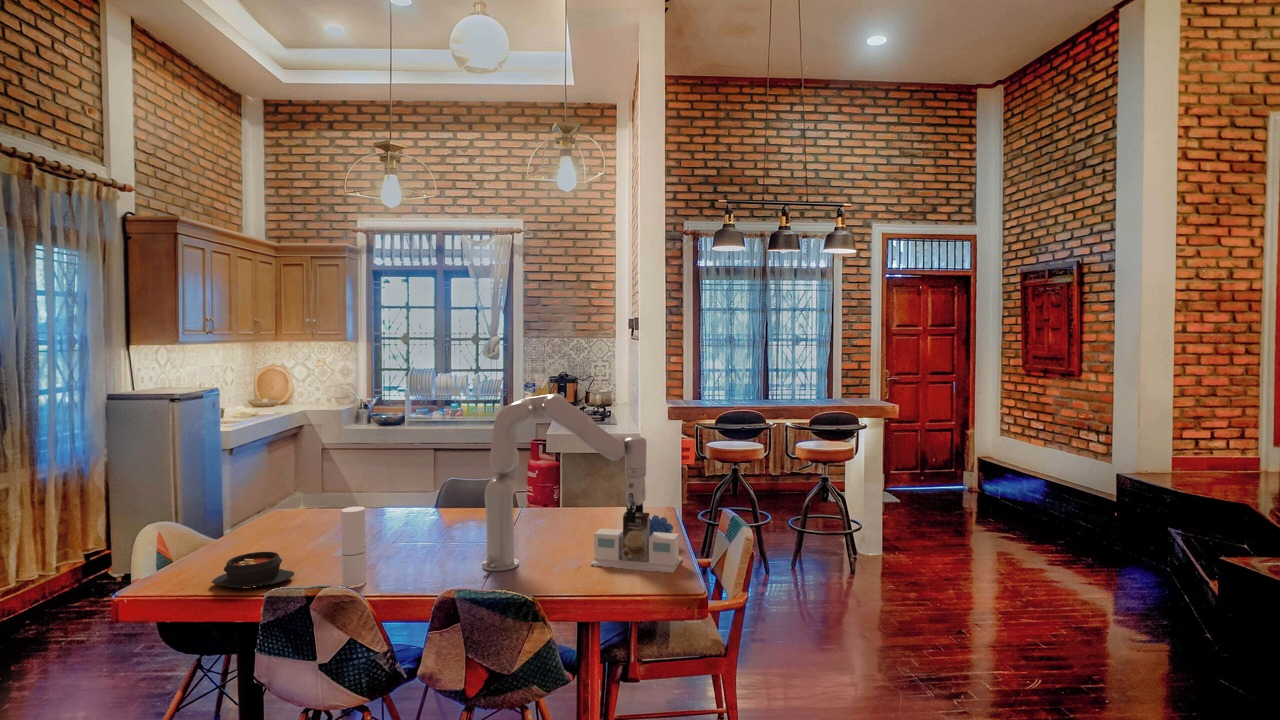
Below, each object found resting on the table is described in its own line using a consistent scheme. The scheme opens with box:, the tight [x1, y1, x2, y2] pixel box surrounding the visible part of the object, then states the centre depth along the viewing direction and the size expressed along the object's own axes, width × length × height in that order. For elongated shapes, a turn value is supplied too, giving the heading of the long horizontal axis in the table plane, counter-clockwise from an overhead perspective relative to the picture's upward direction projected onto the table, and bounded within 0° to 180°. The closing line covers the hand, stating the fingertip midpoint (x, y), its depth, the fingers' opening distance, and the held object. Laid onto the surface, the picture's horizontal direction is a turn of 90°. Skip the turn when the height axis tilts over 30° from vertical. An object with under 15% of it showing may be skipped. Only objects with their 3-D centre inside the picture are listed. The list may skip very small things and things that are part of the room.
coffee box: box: [622, 511, 650, 562], centre depth 239 cm, size 9×6×16 cm
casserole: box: [211, 551, 295, 589], centre depth 223 cm, size 25×19×8 cm
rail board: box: [590, 528, 683, 574], centre depth 239 cm, size 14×30×11 cm, turn 74°
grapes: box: [649, 514, 674, 537], centre depth 259 cm, size 12×7×12 cm, turn 92°
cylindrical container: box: [340, 506, 367, 587], centre depth 220 cm, size 7×7×25 cm
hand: (634, 519), depth 239 cm, fingers open, 9 cm apart
